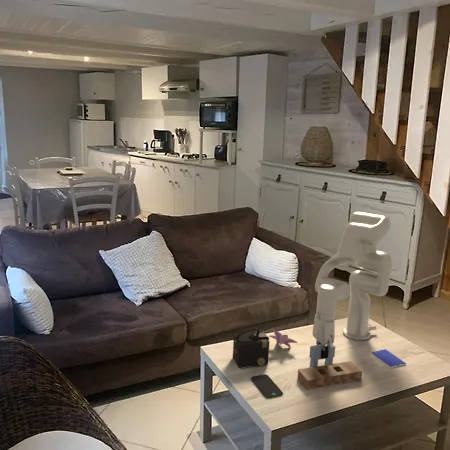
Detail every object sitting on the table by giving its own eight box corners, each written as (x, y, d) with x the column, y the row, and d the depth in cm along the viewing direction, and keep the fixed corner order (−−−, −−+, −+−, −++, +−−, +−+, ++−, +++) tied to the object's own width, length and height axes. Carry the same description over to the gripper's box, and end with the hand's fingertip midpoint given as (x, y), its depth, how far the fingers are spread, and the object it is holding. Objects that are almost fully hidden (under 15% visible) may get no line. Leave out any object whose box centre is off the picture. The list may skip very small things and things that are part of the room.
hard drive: (371, 351, 208) (390, 366, 197) (386, 348, 211) (406, 362, 200) (370, 355, 209) (390, 369, 198) (385, 352, 212) (405, 366, 201)
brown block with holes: (350, 369, 195) (350, 361, 194) (361, 380, 188) (362, 371, 187) (297, 378, 188) (298, 369, 187) (307, 389, 180) (307, 380, 179)
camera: (271, 366, 196) (273, 333, 192) (239, 370, 192) (240, 336, 189) (262, 353, 206) (263, 321, 203) (231, 357, 202) (232, 324, 199)
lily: (299, 357, 206) (301, 334, 209) (279, 353, 200) (282, 330, 202) (279, 354, 216) (282, 332, 218) (260, 350, 209) (264, 328, 212)
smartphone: (266, 398, 173) (249, 376, 187) (266, 400, 173) (249, 378, 187) (284, 394, 176) (266, 373, 190) (284, 396, 176) (266, 375, 190)
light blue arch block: (329, 362, 200) (331, 342, 198) (333, 365, 198) (335, 346, 196) (308, 365, 197) (310, 345, 195) (312, 369, 195) (313, 349, 192)
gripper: (307, 307, 198) (304, 347, 203) (327, 324, 183) (324, 367, 188) (323, 305, 201) (320, 345, 205) (344, 322, 186) (340, 364, 190)
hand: (322, 355), depth 196 cm, fingers closed on light blue arch block, 3 cm apart
